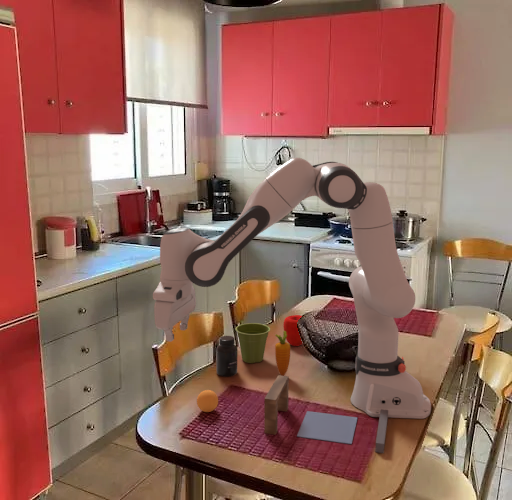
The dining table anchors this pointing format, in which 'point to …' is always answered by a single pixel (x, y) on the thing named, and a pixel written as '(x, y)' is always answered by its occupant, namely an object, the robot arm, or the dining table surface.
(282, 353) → the carrot
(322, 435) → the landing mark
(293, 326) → the apple
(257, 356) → the plant pot
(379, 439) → the stopper wall
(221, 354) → the supplement bottle
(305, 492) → the dining table surface
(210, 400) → the ball
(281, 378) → the bridge
